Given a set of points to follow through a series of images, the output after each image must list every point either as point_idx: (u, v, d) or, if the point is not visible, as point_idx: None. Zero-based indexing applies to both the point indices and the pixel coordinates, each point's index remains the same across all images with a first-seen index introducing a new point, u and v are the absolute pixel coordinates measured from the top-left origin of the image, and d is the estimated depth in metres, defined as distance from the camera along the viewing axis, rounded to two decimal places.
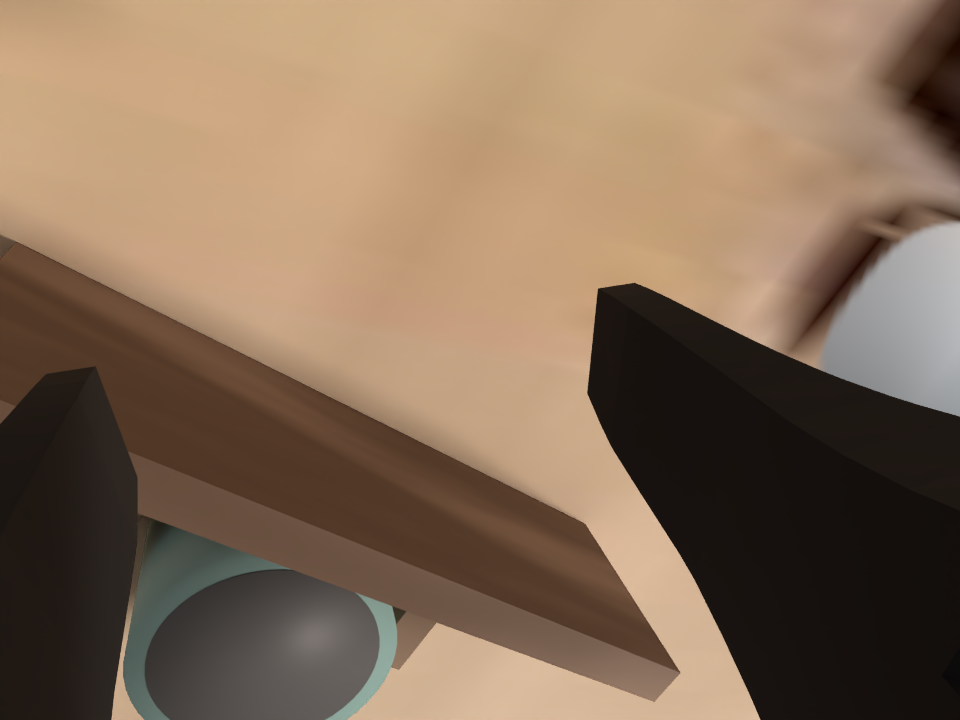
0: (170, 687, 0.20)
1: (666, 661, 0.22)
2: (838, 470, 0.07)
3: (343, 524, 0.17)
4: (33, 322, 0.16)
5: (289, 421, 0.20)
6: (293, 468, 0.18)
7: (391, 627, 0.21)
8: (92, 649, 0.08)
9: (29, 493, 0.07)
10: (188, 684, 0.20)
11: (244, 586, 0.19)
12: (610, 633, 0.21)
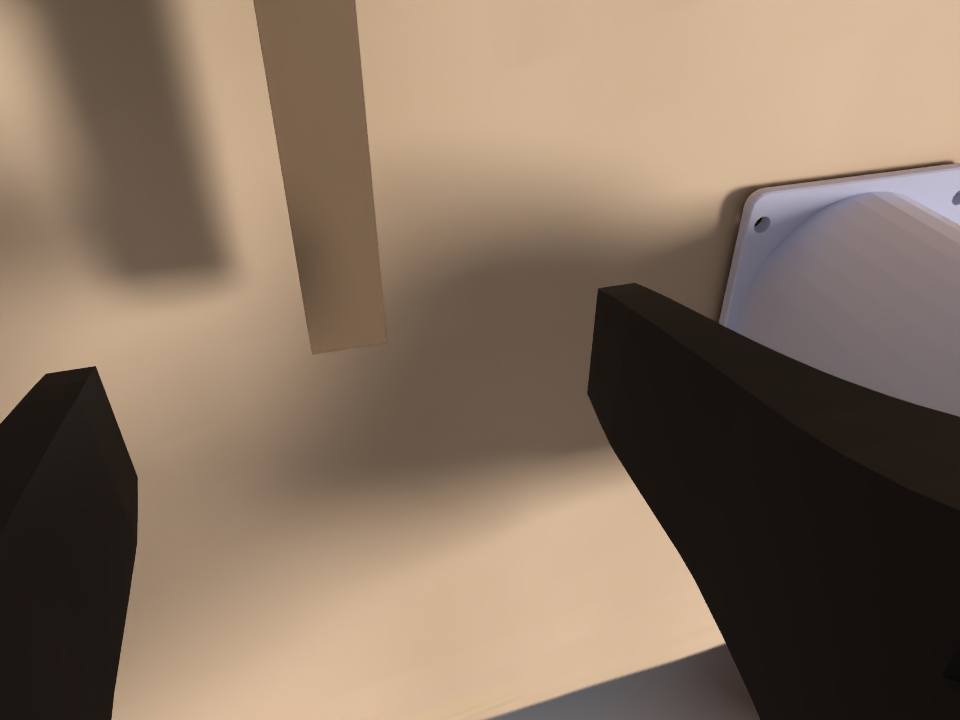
0: None
1: None
2: (837, 470, 0.07)
3: None
4: None
5: None
6: None
7: None
8: (92, 649, 0.08)
9: (29, 493, 0.07)
10: None
11: None
12: None
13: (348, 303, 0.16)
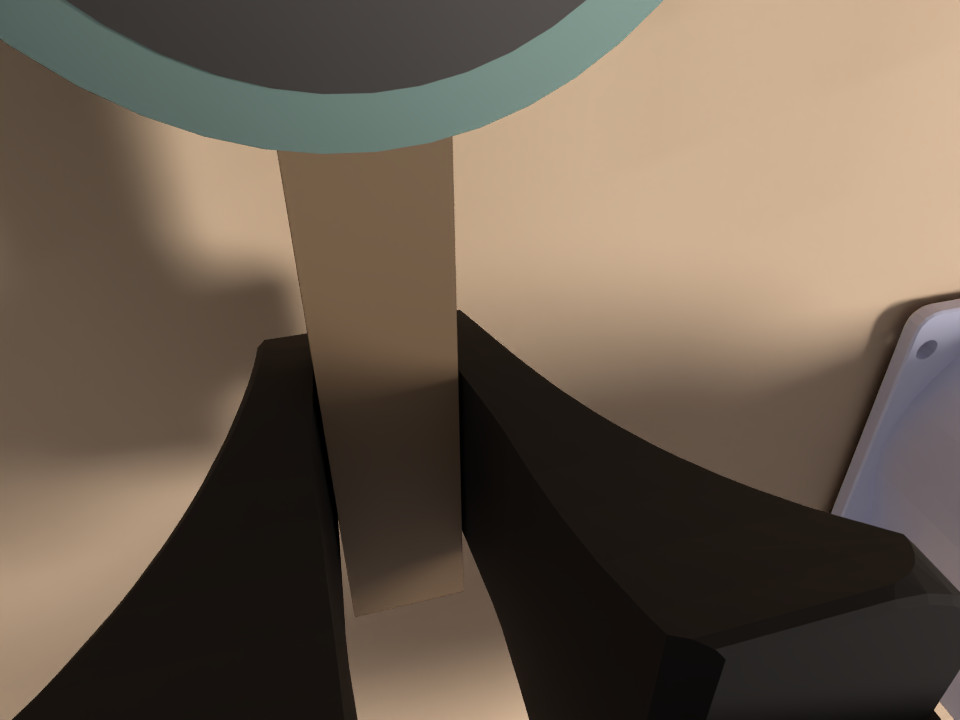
0: None
1: None
2: (560, 533, 0.06)
3: None
4: None
5: None
6: None
7: None
8: (338, 592, 0.09)
9: (312, 441, 0.08)
10: None
11: None
12: None
13: (411, 552, 0.10)
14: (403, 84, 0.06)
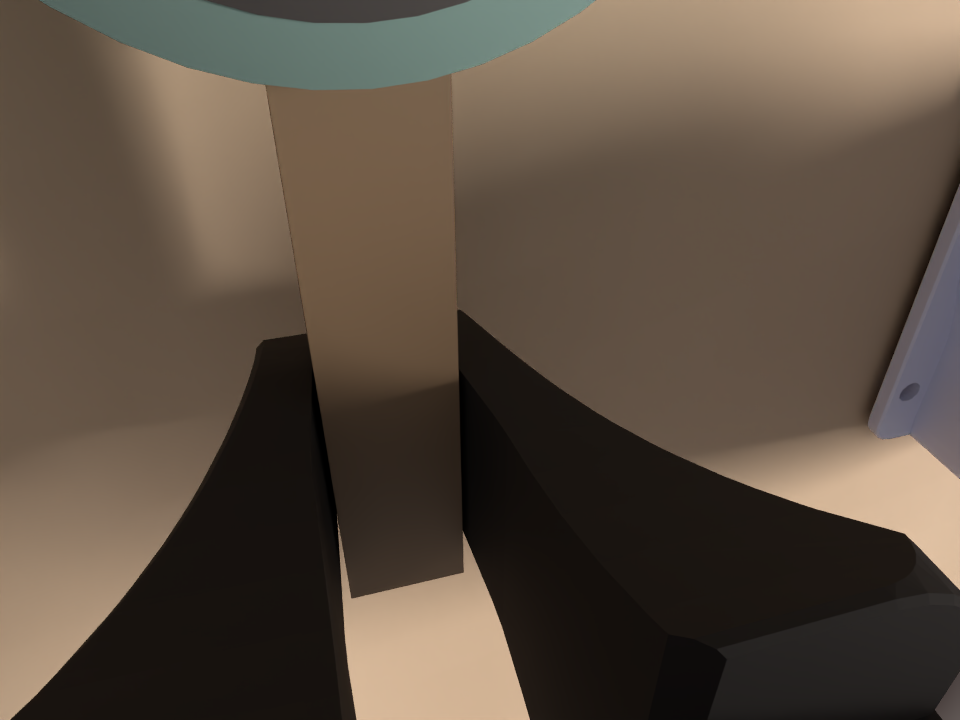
0: None
1: None
2: (561, 533, 0.06)
3: None
4: None
5: None
6: None
7: None
8: (337, 593, 0.09)
9: (311, 441, 0.08)
10: None
11: None
12: None
13: (410, 531, 0.10)
14: (400, 15, 0.06)
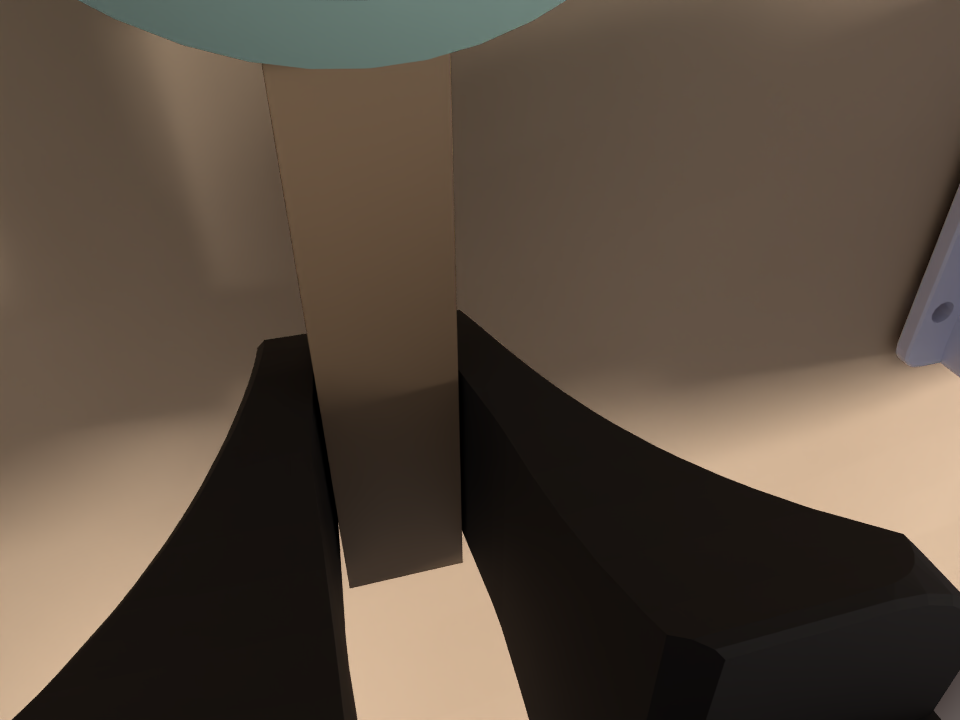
0: None
1: None
2: (560, 532, 0.06)
3: None
4: None
5: None
6: None
7: None
8: (337, 593, 0.09)
9: (311, 441, 0.08)
10: None
11: None
12: None
13: (409, 520, 0.10)
14: None
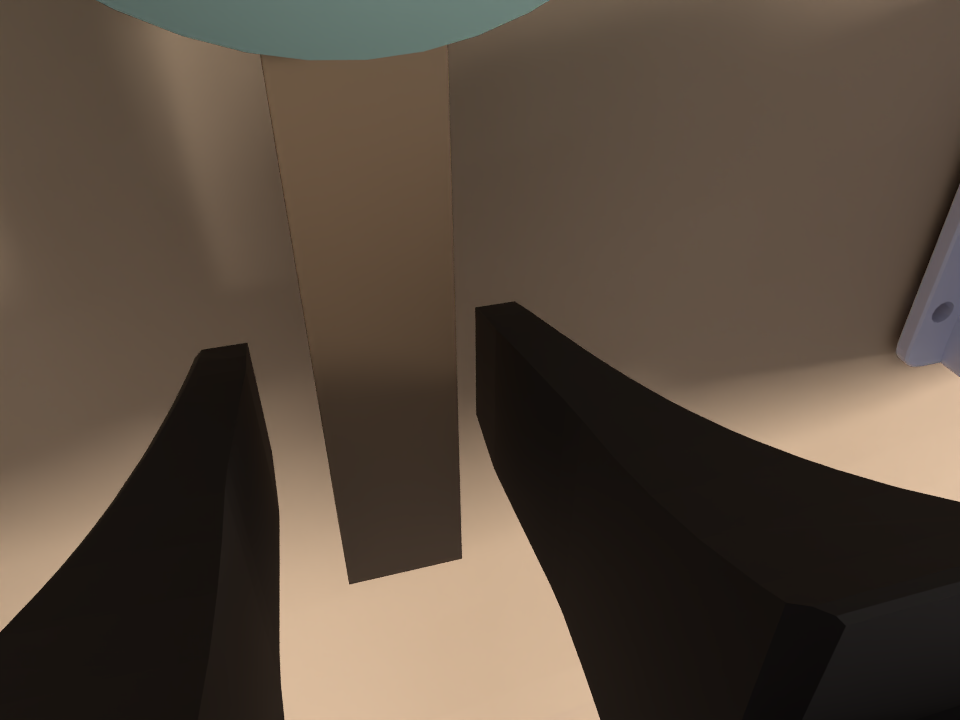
0: None
1: None
2: (650, 512, 0.07)
3: None
4: None
5: None
6: None
7: None
8: (268, 609, 0.09)
9: (232, 456, 0.08)
10: None
11: None
12: None
13: (408, 515, 0.10)
14: None
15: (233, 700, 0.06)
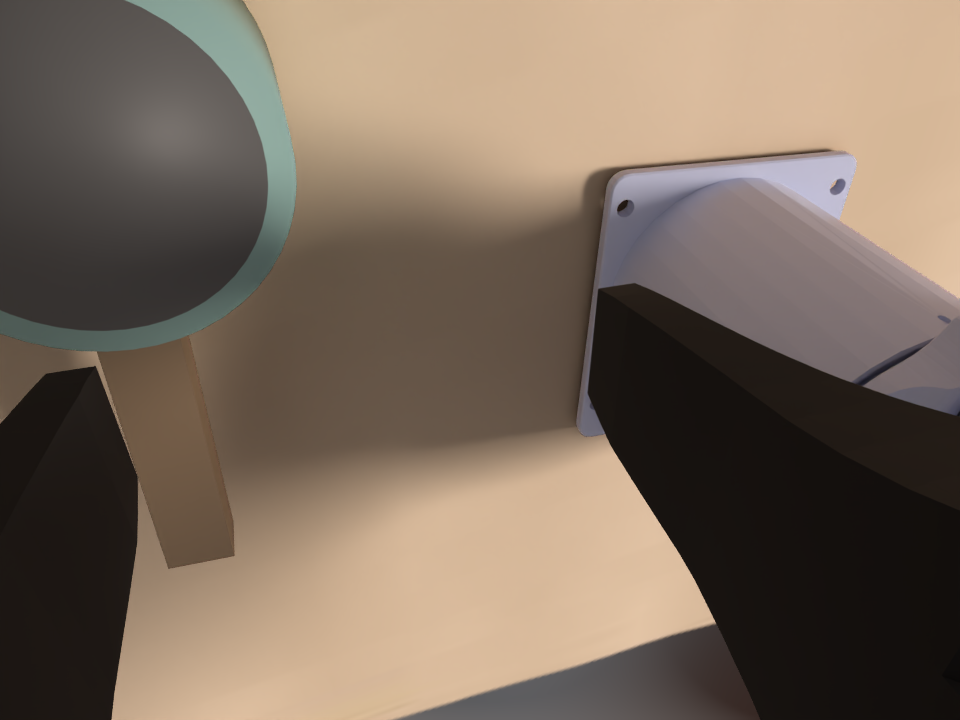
0: (1, 281, 0.13)
1: None
2: (837, 470, 0.07)
3: None
4: None
5: None
6: None
7: (214, 31, 0.12)
8: (92, 649, 0.08)
9: (29, 493, 0.07)
10: (15, 265, 0.13)
11: None
12: None
13: (197, 532, 0.19)
14: (142, 324, 0.14)
15: None
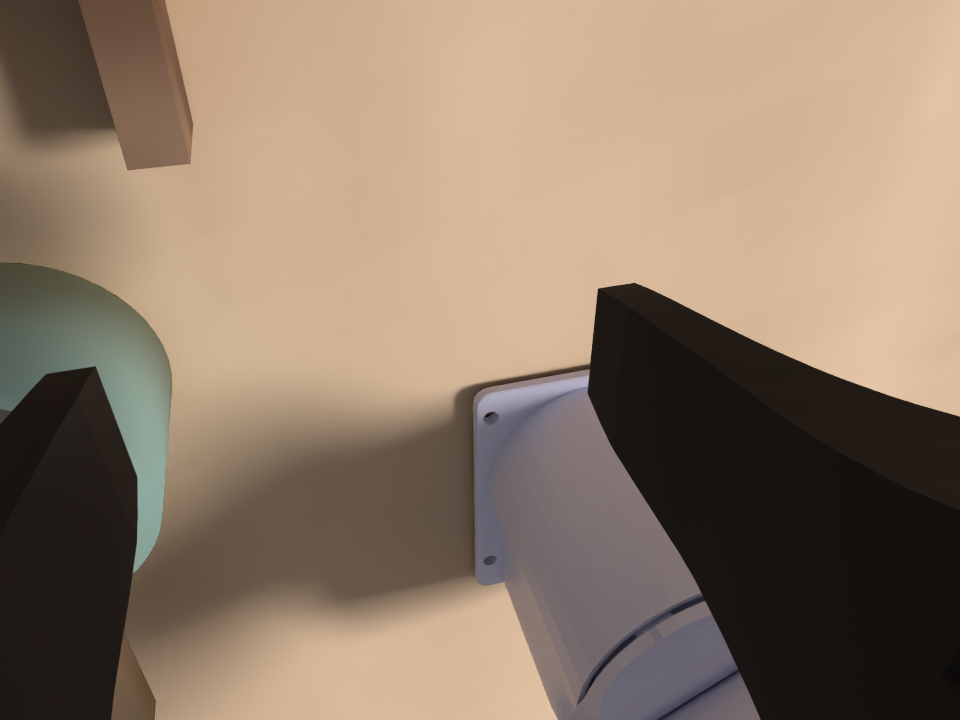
0: None
1: None
2: (838, 470, 0.07)
3: None
4: None
5: None
6: None
7: None
8: (92, 649, 0.08)
9: (29, 493, 0.07)
10: None
11: None
12: None
13: None
14: None
15: None
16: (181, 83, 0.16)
